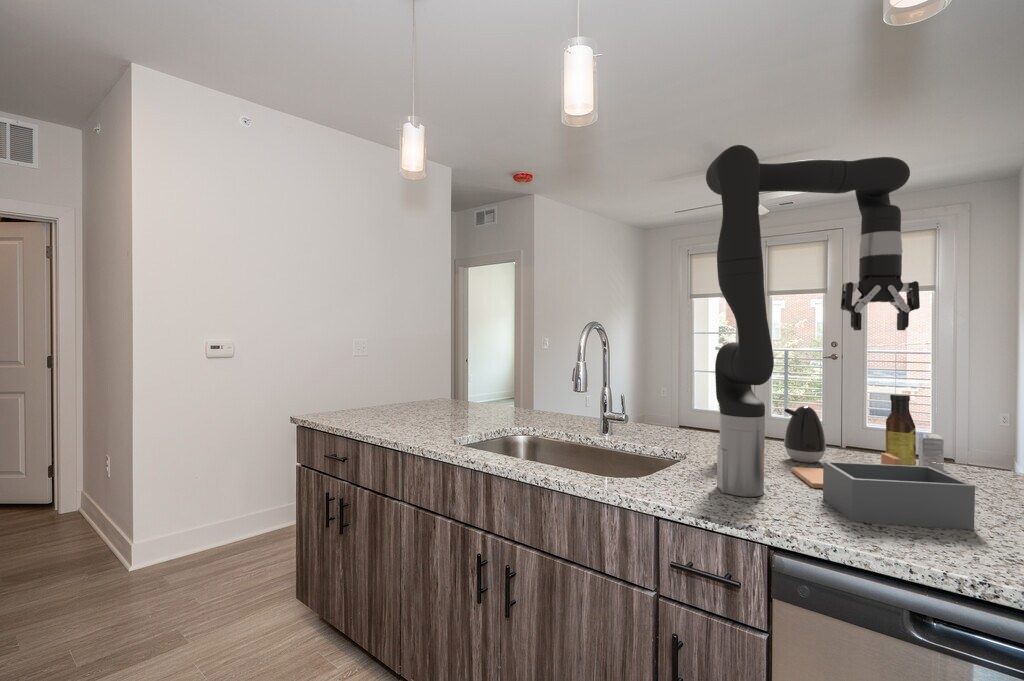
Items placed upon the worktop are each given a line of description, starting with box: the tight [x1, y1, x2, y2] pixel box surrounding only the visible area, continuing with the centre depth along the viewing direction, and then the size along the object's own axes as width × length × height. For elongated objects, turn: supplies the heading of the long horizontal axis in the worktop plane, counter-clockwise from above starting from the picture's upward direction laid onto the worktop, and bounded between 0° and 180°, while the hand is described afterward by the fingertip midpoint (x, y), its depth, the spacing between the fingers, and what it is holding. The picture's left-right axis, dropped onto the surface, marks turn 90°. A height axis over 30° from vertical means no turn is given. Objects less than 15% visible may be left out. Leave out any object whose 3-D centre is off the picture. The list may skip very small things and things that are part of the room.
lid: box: [791, 452, 901, 489], centre depth 125 cm, size 21×15×7 cm
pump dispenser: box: [783, 405, 827, 464], centre depth 146 cm, size 10×10×15 cm
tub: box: [822, 461, 976, 531], centre depth 104 cm, size 20×14×8 cm
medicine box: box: [918, 432, 945, 473], centre depth 139 cm, size 8×4×9 cm, turn 148°
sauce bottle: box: [884, 393, 917, 466], centre depth 135 cm, size 7×6×20 cm
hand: (878, 330), depth 114 cm, fingers open, 8 cm apart
